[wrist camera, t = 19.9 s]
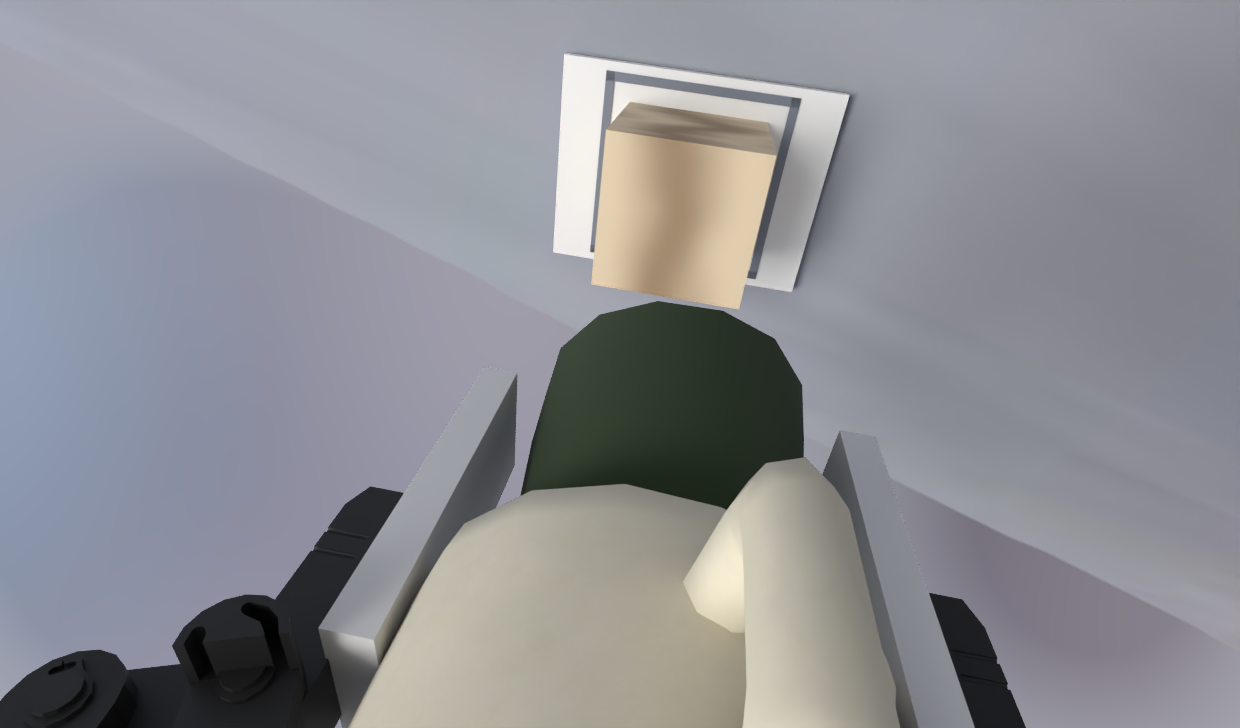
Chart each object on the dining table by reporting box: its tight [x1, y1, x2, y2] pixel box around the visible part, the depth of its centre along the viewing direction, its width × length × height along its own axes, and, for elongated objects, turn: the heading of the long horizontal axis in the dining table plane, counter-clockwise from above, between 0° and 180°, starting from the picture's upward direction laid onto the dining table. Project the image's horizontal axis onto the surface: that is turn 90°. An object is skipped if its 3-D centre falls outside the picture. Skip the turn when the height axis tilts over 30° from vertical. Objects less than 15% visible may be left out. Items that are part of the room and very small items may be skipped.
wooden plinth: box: [591, 102, 777, 309], centre depth 34 cm, size 8×8×8 cm
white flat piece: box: [553, 53, 850, 292], centre depth 37 cm, size 16×12×1 cm
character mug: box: [347, 301, 900, 728], centre depth 10 cm, size 11×7×13 cm, turn 162°
